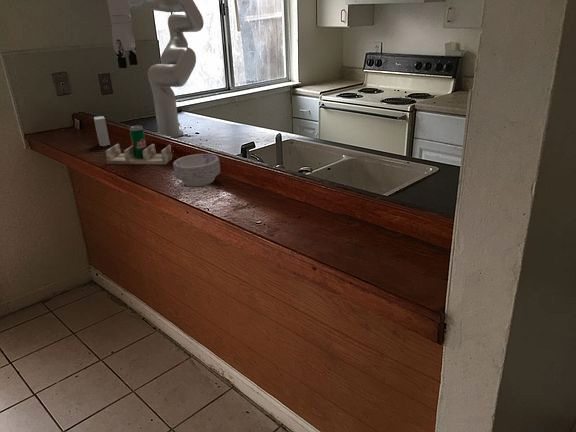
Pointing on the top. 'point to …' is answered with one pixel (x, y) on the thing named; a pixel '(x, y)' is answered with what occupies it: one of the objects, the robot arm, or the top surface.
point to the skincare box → (101, 131)
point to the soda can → (138, 141)
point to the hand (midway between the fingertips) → (128, 66)
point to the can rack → (128, 158)
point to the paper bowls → (197, 169)
